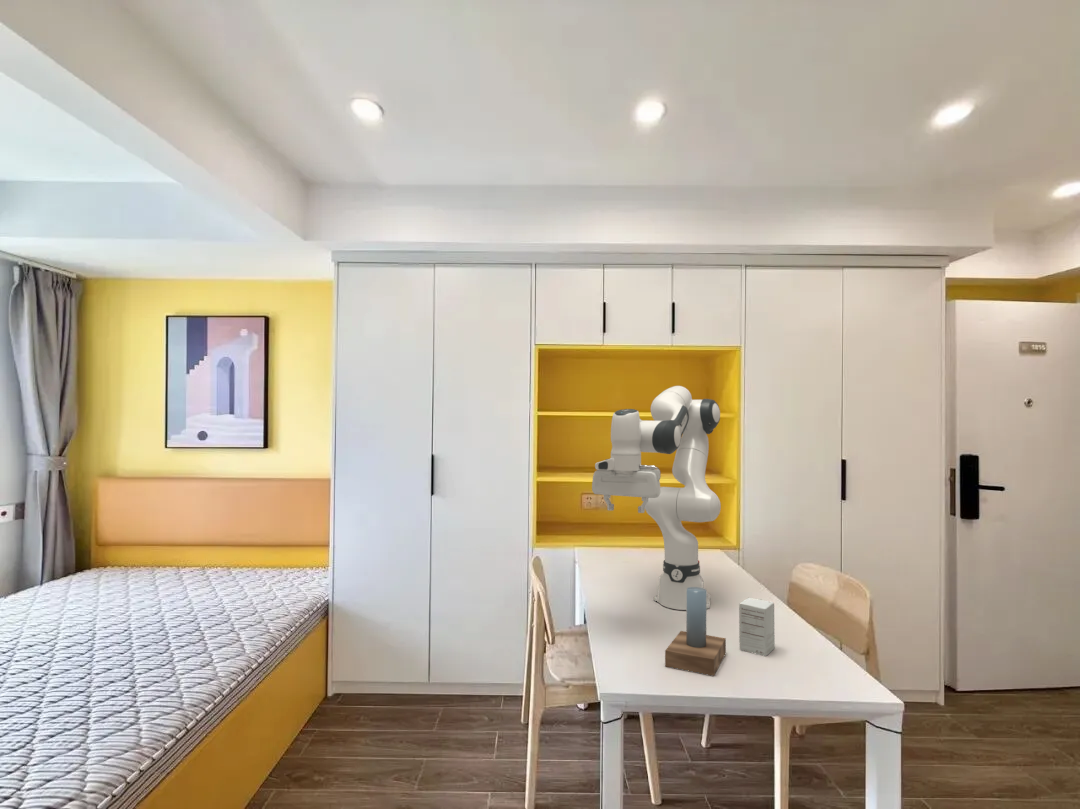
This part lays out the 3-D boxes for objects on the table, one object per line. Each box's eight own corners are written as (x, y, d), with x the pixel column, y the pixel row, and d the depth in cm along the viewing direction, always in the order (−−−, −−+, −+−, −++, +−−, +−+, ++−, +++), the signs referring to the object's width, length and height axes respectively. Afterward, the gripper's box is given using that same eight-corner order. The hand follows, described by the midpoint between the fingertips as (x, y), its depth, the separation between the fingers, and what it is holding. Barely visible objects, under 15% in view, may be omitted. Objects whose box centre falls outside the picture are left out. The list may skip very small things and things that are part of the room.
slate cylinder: (689, 639, 160) (689, 586, 161) (708, 642, 158) (708, 588, 158) (684, 645, 156) (684, 590, 156) (703, 649, 153) (704, 593, 154)
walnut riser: (680, 645, 166) (680, 630, 167) (725, 653, 161) (725, 638, 161) (665, 666, 152) (665, 650, 152) (713, 676, 147) (713, 659, 147)
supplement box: (748, 642, 169) (748, 596, 170) (775, 648, 165) (775, 602, 165) (738, 649, 164) (738, 602, 164) (766, 656, 159) (765, 608, 159)
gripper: (663, 464, 176) (663, 512, 176) (597, 462, 185) (597, 507, 185) (657, 466, 170) (657, 515, 170) (590, 463, 180) (589, 510, 179)
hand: (625, 511), depth 178 cm, fingers open, 8 cm apart
